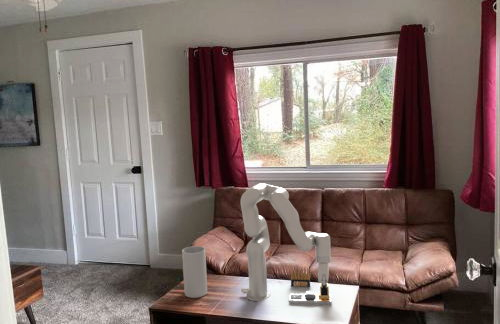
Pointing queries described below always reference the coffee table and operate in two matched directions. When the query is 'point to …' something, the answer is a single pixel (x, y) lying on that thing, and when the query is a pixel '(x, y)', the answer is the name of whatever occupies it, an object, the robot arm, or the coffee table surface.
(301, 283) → the ammunition clip
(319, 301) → the rail
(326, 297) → the gold brushed block
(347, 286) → the coffee table surface
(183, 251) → the cylinder vase
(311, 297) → the grey brushed cube
